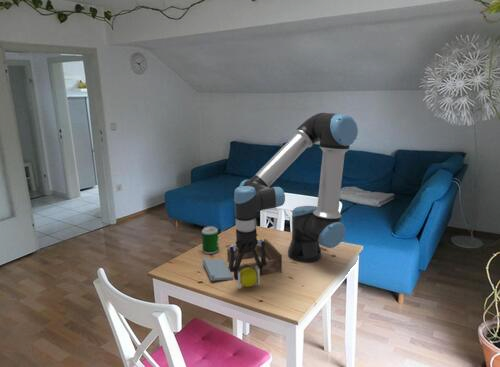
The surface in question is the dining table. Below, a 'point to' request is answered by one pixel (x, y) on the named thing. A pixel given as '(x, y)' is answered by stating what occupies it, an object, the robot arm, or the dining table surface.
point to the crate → (270, 252)
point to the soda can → (210, 240)
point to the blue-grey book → (217, 269)
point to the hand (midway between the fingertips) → (248, 284)
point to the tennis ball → (248, 277)
